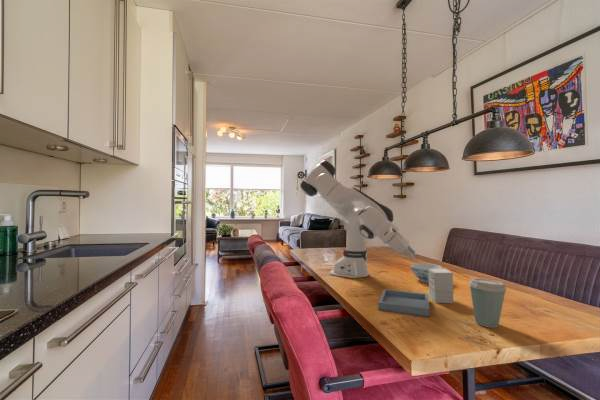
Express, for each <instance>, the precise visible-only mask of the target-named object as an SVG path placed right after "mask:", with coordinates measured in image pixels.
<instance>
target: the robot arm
mask: <svg viewBox="0 0 600 400" xmlns="http://www.w3.org/2000/svg"><path fill="white" fill-rule="evenodd" d="M335 174H336V168H335V166H334V164H333V163H332V162H330V161H328V160H326V159H325V160H324V159H323V160H321V161H320V162H319V163H318V164H317V165H316V166H315V167H313V169H311V170H310V172H309V173H308V174H307V175H306V176H305V178H304V180H302V181H301V183H300V185H299V186H300V188H301V191H302V193H303V194H304V195H306V196H309V197H314V196H316V195H318V193H319V195H320V197H321V198H322V199H323V200H324V201H325V202H327V203H328V204H329V206H330V207H331V208H332V209H334V210H335V211H336V213H337V214H338V215H339V216H340V217H341V219H343V221H345V223H346V224H347V225H348V227H347V233H346V237H345V238H346V248H345V249H343V251H342V254H343V256H342V257H340V258H339V259H337V260H336V261H335V262H334V264H333V268H332V269H331V270H330V271H329V274H330V275H332V276H338V277H342V278H343V277H344V278H350V279H357V278H364V277H365V278H366V277H368V276H369V275H370V273H369V270H368V264H367V259H368V251H367V246H366V245H367V244H366V243H367V241H366V240H373V239H375V238H376V237H378V238H379V239H380V240H381V242H382V243H383V244H385V245H386V244H387V245H388V246H389V247H390V248H391V249H392V250H393V251H395V252H396V253H398V254H399V255H405V256H407V257H409V258H410V259H411V260H414V259H415V254H416V251H415V250H414V249H413V248H412V246H410V244H409V241H408V240H407V238H405V237H404V236H403V235H402V234H401V233H400V232H399V230H400V228H399V227H398V226H396V225H395V223H393V222H394V213H393V210H392V209H390V208H389V207H388V206H386V205H384V204H382V203H380V202H378V201H377V200H375V199H374V198H372V197H371V196H370V195H368V194H366V193H364V192H363V191H362V190H360V189H358V188H356V187H348V186H345V185H344V184H342V183H341V182H340V181H339V180H338V179H336V178H335ZM354 202H355V203H356V202H358V203H360V204H362V205H364V206H365V207H364V208H362V207H358V206H357V205H355V203H354Z"/></svg>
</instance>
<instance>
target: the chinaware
mask: <svg viewBox="0 0 600 400" xmlns="http://www.w3.org/2000/svg"><path fill="white" fill-rule="evenodd" d="M410 269H411V271H412V273H413V275H414V276H415V277H417V278H418V279H419V281H420V282H421V283H422V282H423V283H429V269H443V267H442V266H441V265H438V264H434V263H426V262H425V263H424V262H420V263H419V262H416V263H412V264H411V265H410Z"/></svg>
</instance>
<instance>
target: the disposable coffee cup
mask: <svg viewBox="0 0 600 400" xmlns="http://www.w3.org/2000/svg"><path fill="white" fill-rule="evenodd" d="M468 285H469V289H470V295H471V302H472V303H471V304H472V309H473V316H474V320H475V323H476V324H478V325H479V326H482V327H485V328H492V329H493V328H497V327H498V326H499V324H500V319H501V315H502V309H503V304H504V299H505V294H506V291H507V287H506V286H505V283H503V282H501V281H498V280H494V279H487V278H482V277H481V278H480V277H479V278H477V277H475V278H471V279H470V280H469V282H468Z"/></svg>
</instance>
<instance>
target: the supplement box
mask: <svg viewBox="0 0 600 400" xmlns="http://www.w3.org/2000/svg"><path fill="white" fill-rule="evenodd" d="M453 277H454V273H453V272H451V271H450V270H448V269H446V268H442V269H429V282H428V298H429V299H430V300H431V301H433V302H434V303H435V304H454V278H453Z"/></svg>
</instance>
